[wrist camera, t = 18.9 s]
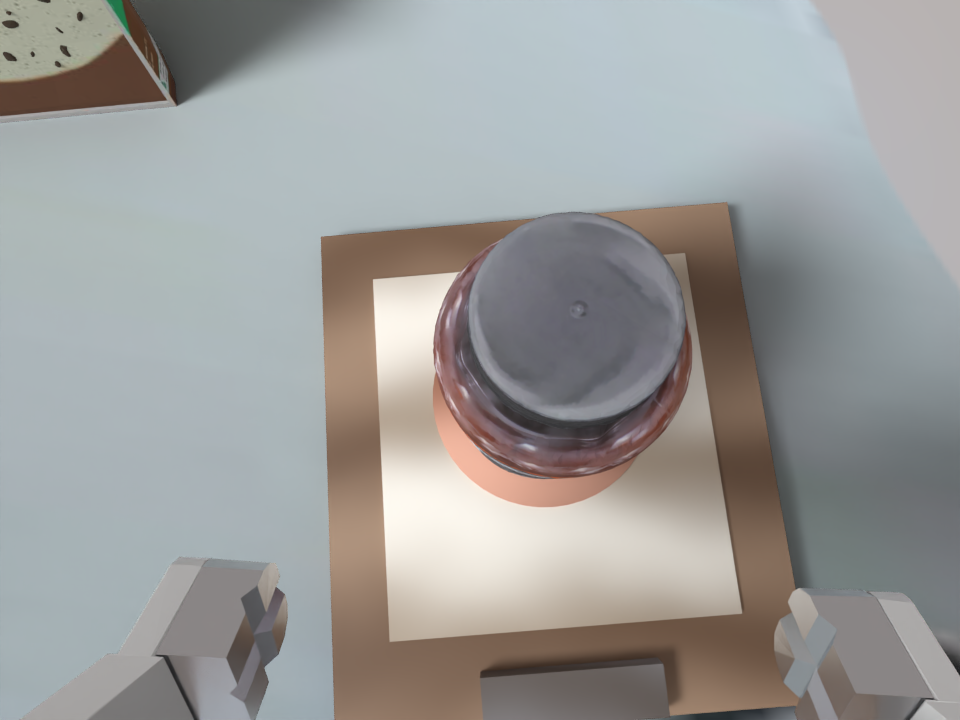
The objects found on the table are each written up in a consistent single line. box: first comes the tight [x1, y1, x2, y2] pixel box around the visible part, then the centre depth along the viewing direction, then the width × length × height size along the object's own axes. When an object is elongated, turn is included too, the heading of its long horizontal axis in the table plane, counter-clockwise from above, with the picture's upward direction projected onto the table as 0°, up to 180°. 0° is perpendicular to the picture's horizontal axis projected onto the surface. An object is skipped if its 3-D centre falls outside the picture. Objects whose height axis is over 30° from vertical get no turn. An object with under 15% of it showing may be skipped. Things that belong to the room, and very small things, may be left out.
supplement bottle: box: [433, 212, 692, 479], centre depth 16 cm, size 6×6×11 cm
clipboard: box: [321, 202, 799, 720], centre depth 22 cm, size 18×16×2 cm
